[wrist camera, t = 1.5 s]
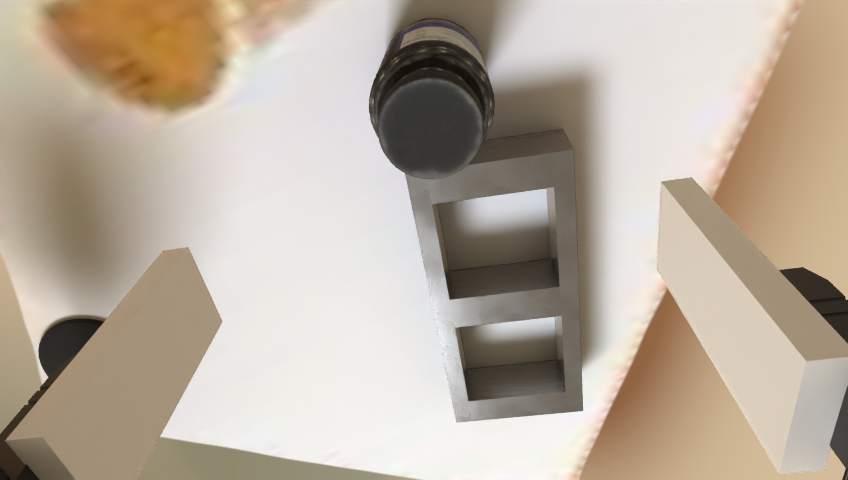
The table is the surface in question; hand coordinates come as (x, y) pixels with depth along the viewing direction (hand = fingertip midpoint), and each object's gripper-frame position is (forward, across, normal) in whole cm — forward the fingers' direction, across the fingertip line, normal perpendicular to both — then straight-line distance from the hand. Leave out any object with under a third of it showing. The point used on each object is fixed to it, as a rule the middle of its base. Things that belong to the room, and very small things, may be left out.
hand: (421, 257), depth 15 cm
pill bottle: (+21, 0, 0) cm, 21 cm away
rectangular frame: (+21, +2, -16) cm, 26 cm away
